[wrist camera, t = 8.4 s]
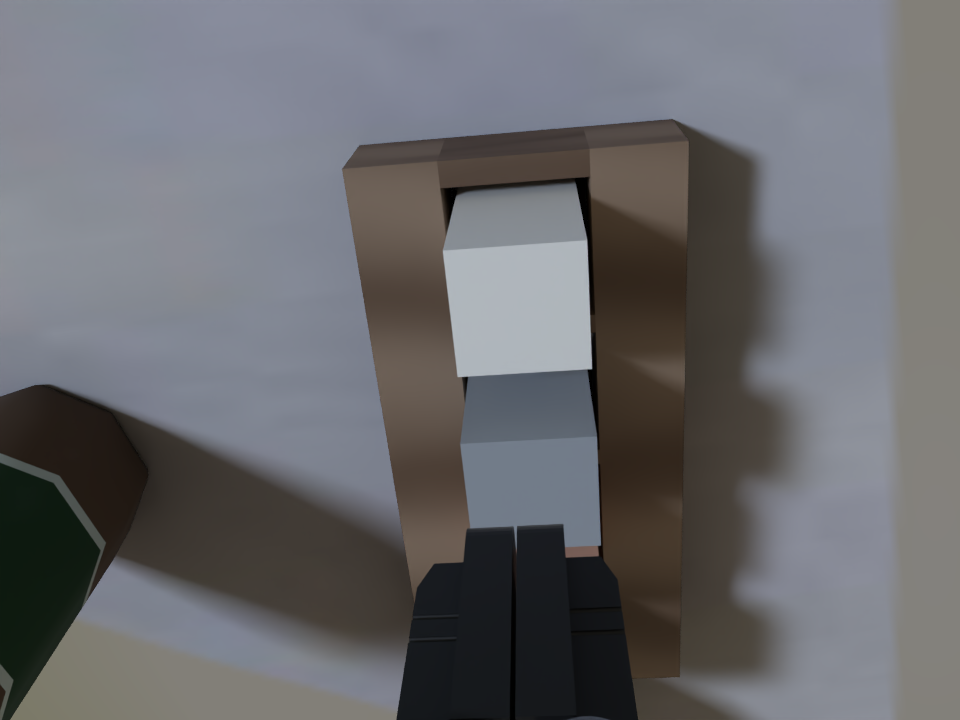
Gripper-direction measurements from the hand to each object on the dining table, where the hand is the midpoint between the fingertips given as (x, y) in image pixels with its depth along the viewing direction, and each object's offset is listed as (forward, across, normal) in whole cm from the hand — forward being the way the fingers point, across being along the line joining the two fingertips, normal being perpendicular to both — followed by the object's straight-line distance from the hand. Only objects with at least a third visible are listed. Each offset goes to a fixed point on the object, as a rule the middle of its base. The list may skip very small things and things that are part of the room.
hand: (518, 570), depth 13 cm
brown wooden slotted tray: (+17, 0, +8) cm, 19 cm away
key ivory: (+16, 0, 0) cm, 16 cm away
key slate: (+15, 0, +5) cm, 16 cm away
